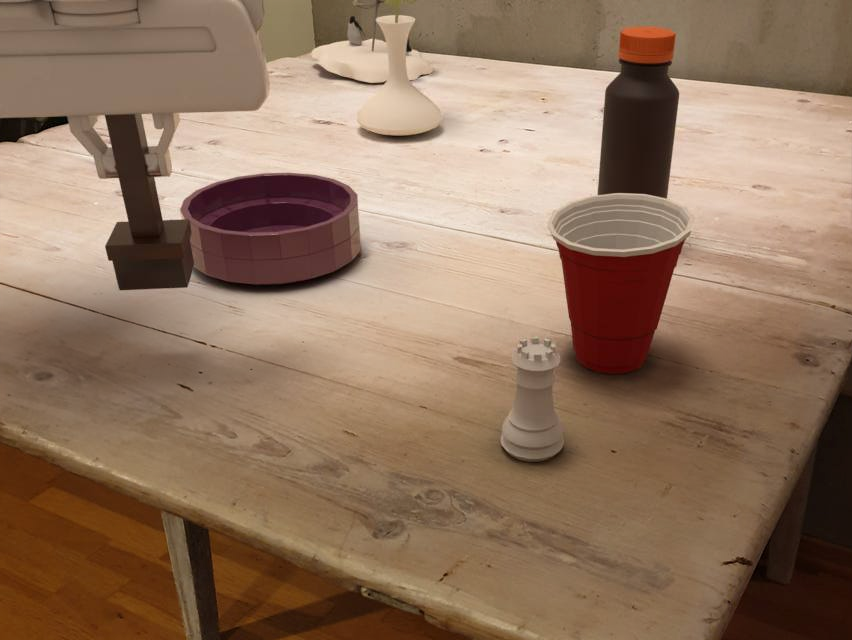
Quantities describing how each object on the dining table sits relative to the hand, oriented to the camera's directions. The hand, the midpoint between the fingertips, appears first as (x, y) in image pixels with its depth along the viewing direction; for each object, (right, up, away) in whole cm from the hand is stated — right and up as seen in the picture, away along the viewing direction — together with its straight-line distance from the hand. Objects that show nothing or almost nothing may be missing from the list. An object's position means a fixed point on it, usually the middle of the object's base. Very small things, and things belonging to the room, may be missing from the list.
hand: (136, 175), depth 69 cm
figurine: (+7, +42, +87) cm, 97 cm away
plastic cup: (+35, -12, +9) cm, 38 cm away
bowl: (+5, -1, +25) cm, 26 cm away
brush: (0, -6, +5) cm, 8 cm away
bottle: (+40, +1, +29) cm, 49 cm away
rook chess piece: (+28, -20, -1) cm, 34 cm away
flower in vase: (+14, +23, +60) cm, 66 cm away
